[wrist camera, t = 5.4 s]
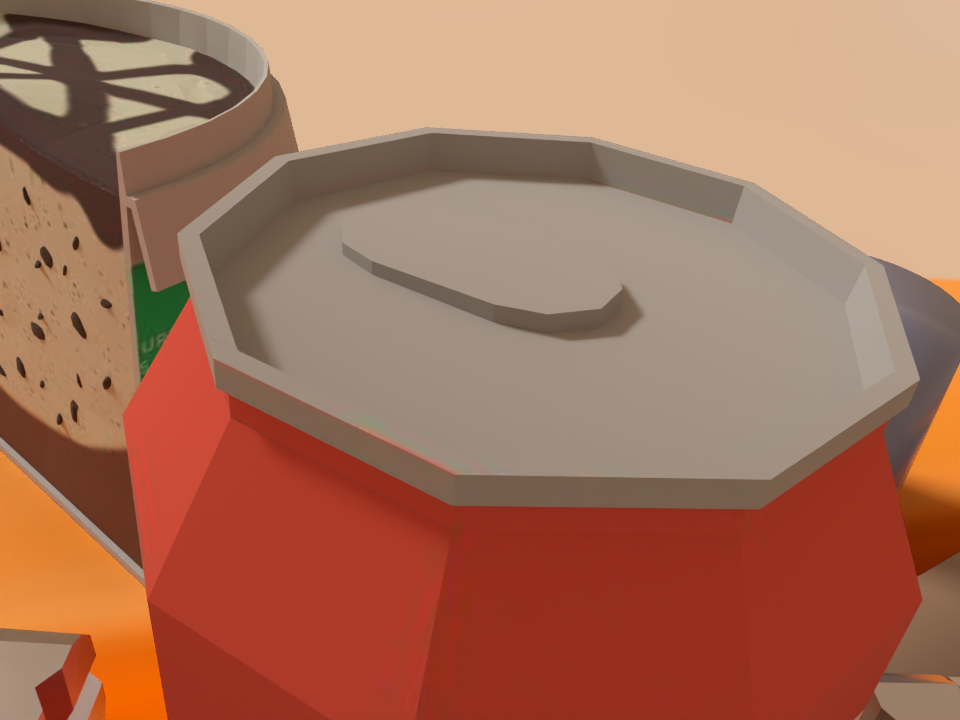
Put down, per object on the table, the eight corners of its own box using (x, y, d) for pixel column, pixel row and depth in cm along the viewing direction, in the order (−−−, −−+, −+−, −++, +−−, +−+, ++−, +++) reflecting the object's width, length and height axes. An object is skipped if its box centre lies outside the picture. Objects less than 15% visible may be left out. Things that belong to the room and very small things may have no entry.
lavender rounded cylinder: (639, 470, 23) (689, 268, 20) (769, 419, 26) (832, 231, 22) (786, 602, 20) (875, 384, 17) (919, 529, 22) (1020, 326, 19)
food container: (414, 494, 22) (441, 86, 16) (201, 640, 18) (140, 162, 12) (131, 302, 28) (80, -40, 22) (-76, 378, 24) (-200, -18, 18)
